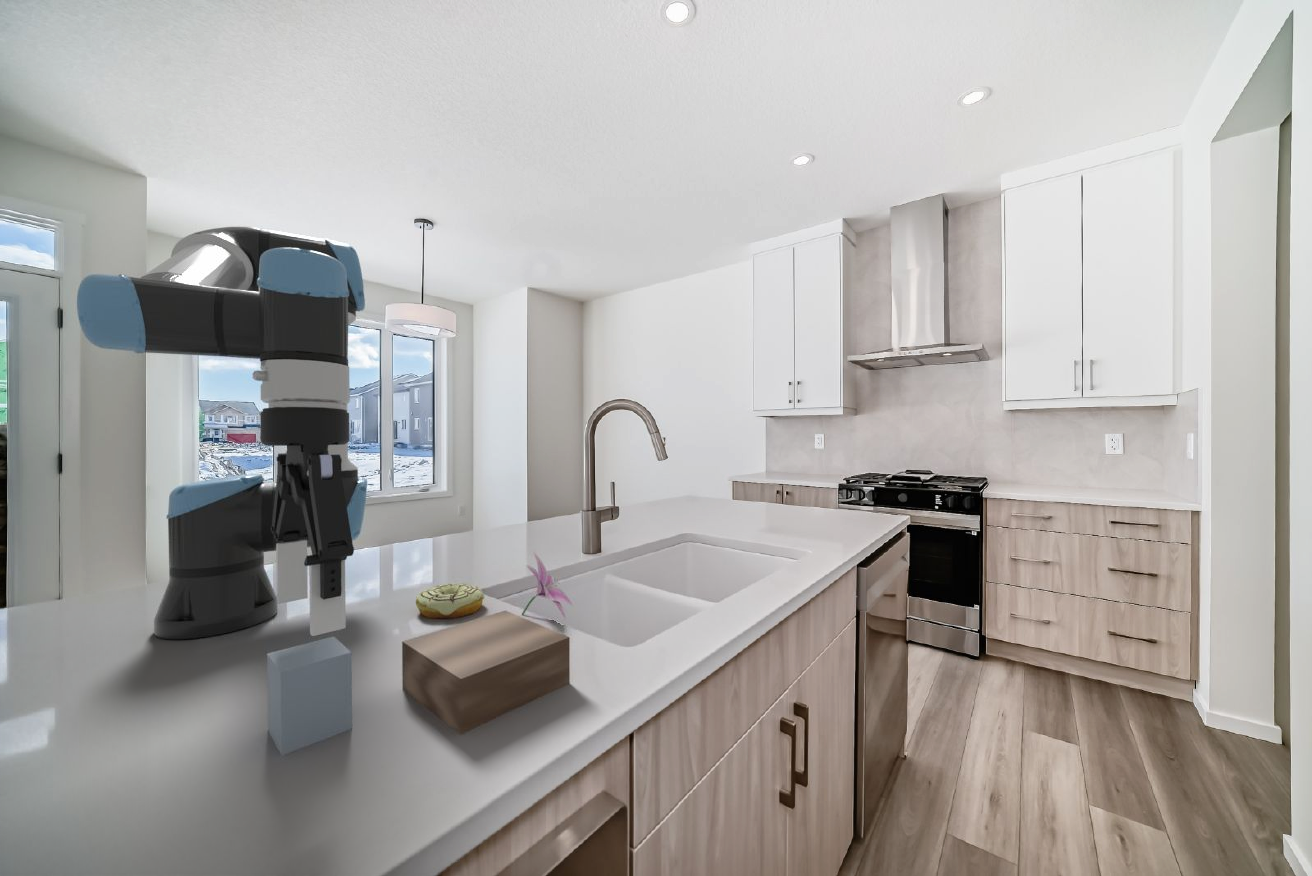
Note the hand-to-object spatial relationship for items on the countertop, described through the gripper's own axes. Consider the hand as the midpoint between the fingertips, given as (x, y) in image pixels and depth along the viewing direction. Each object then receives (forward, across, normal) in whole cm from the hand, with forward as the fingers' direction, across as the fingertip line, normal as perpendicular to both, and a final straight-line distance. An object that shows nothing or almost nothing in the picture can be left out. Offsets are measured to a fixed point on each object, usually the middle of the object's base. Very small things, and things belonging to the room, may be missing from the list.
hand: (308, 614), depth 52 cm
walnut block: (+12, +4, +17) cm, 22 cm away
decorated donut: (+12, -24, +26) cm, 38 cm away
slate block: (+12, 0, 0) cm, 12 cm away
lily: (+12, -10, +36) cm, 40 cm away
